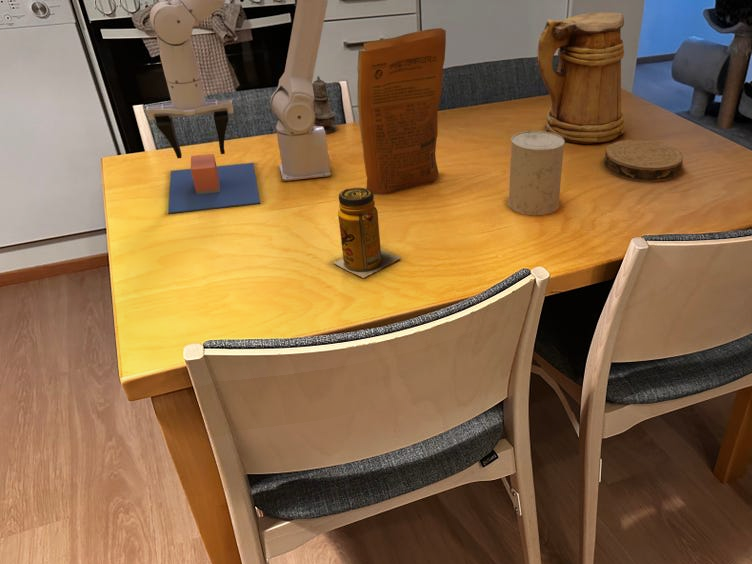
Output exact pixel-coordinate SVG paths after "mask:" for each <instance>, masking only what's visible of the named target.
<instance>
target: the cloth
mask: <svg viewBox="0 0 752 564" xmlns="http://www.w3.org/2000/svg"><path fill="white" fill-rule="evenodd" d="M216 166H217V170H218V175H219V182H220V192H219V193H209V194H200V195H197V193H196V189H195V185H194V181H193V177H192V172H191V168H187V169H185V168H183V169H176V170H170V179H169V180H170V181H169V196H168V207H167V208H168V210H167V213H168V215H171V214H172V215H173V214H181V213H189V212H198V211H199V212H200V211H207V210H216V209H226V208H235V207H243V206H251V205H260V204H261V200H260V193H259V188H258V183H257V177H256V171H255V165H254V163H253V162H249V163H246V162H245V163H236V164H226V165H216Z"/></svg>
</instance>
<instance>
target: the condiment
mask: <svg viewBox="0 0 752 564" xmlns="http://www.w3.org/2000/svg"><path fill="white" fill-rule="evenodd" d="M338 202H339V210H338V211H337V212H338V213H337V218H338V224H339V234H340V240H341V241H340V243H341V250H342V251H341V252H342V258H341V259H338V260H336V261H333V262H332V264H333V265H336V266H338V267H340V268H341V269H344V270H345V271H348V272H350V273H352V274H354V275H356V276H359V277H361V278H363V279H364V278H366V277H368V276H371V275H372V274H375V273H377V272H378V271H380V270H382V269H383V268H385V267H386V266H389V265H391V264H393V263H395V262H397V261H398V260H400V259H402V256H399V255H396V254H394V253H391V252H388V251H387V250H384V249H382V248H381V237H380V224H379V212H378V209H377V207H376V205H375V202H376V201H375V195H374V193H372V191H370V190H369V189H366V187H348V188H345V189H344V190H342V191H340V192H339V193H338Z"/></svg>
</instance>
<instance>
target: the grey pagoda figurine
mask: <svg viewBox="0 0 752 564" xmlns="http://www.w3.org/2000/svg"><path fill="white" fill-rule="evenodd" d="M320 78H321V77H320V76H319V75H317V77H316V80H314V81H312V86H313V92H314V101H313V103H314V112H315V121H314V126H323V127H324V130H325V134H332V133H334V132H335V131H337V128H336V127H335V126H334V125H333V124H334V122H335V119H336V116H337V113H336V112H335V111H333V110H331V109H330V105H329V99H330V97H329V95H328V94H327V93H328V92H327V84H326V82H325V80H322V79H320Z"/></svg>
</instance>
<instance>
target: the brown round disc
mask: <svg viewBox="0 0 752 564" xmlns="http://www.w3.org/2000/svg"><path fill="white" fill-rule="evenodd" d="M683 161H684V155H683V153H682V151H680V149H678V148H677V147H675V146H672V145H669V144H667V143H664V142H659V141H656V140H650V139H649V140H648V139H624V140H619V141H614V142H613V143H610V144H609V145H608V146H607V147H606V149H605V155H604V162H603V163H604V164H603V165H604V168H605V169H606V170H607V171H608V172H609V173H611V174H612V175H614V176H616V177H618V178H622V179H625V180H628V181H634V182H641V183H658V182H659V183H660V182H666V181H670V180H673V179H675V178H677V177H678V176H680V173H681V170H682V165H683Z"/></svg>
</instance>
